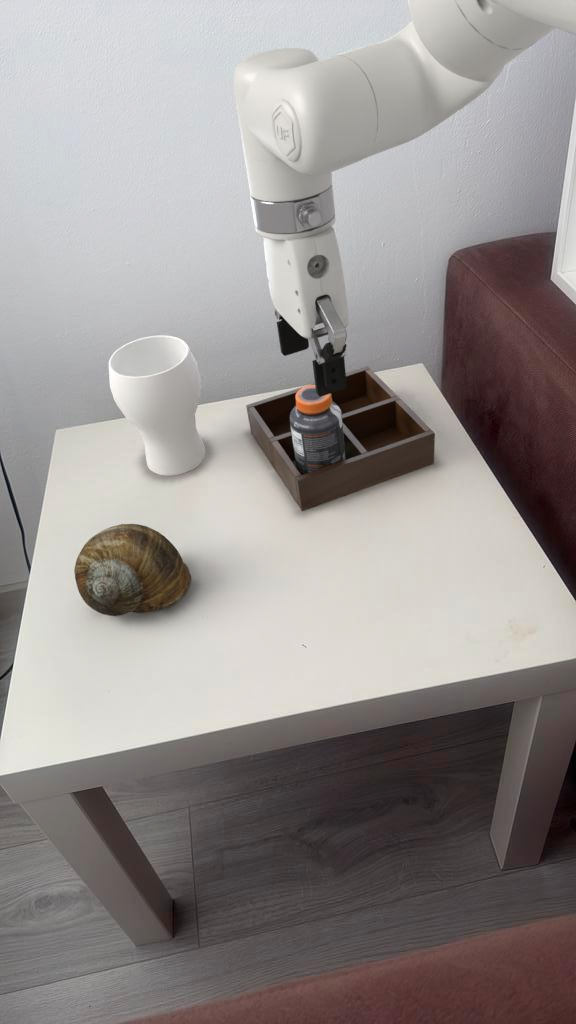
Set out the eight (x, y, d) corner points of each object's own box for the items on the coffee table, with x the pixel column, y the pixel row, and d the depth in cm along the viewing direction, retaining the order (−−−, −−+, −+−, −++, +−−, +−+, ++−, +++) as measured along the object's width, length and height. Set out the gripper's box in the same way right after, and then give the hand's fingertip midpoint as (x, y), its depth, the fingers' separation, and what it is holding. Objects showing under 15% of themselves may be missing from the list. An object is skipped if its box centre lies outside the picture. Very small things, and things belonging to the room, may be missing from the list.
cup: (179, 423, 101) (153, 324, 91) (233, 449, 95) (212, 347, 85) (119, 464, 96) (85, 364, 86) (173, 494, 90) (143, 390, 80)
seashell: (80, 633, 75) (55, 581, 70) (93, 567, 82) (70, 515, 77) (190, 620, 75) (172, 566, 69) (193, 555, 82) (177, 501, 76)
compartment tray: (434, 463, 89) (435, 433, 86) (301, 511, 85) (297, 481, 82) (369, 394, 101) (367, 365, 98) (251, 433, 97) (245, 405, 94)
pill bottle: (353, 462, 89) (348, 382, 82) (336, 492, 86) (328, 412, 78) (308, 453, 92) (299, 375, 84) (289, 483, 88) (277, 404, 80)
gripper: (372, 225, 62) (381, 397, 73) (295, 175, 75) (312, 328, 86) (291, 249, 61) (312, 420, 72) (225, 193, 73) (252, 347, 84)
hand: (312, 370), depth 79 cm, fingers open, 9 cm apart
